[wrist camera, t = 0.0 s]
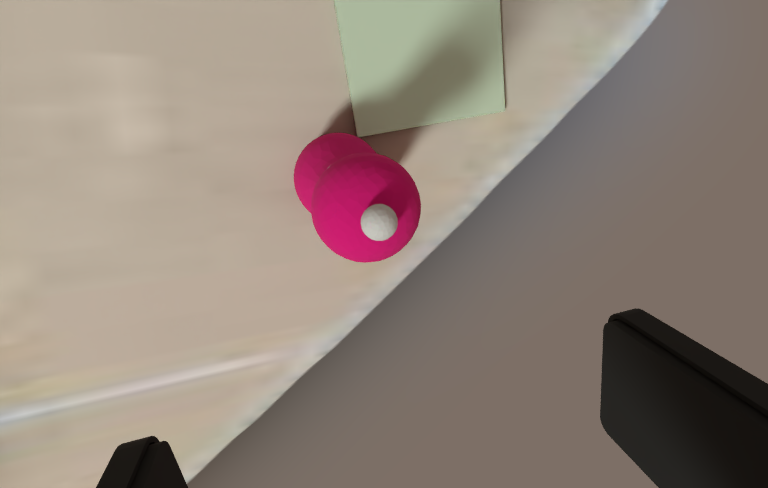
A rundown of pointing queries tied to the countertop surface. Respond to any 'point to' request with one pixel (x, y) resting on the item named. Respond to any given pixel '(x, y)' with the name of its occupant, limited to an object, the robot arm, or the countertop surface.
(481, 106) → the mat
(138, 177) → the countertop surface
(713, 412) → the robot arm
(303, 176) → the pepper mill
